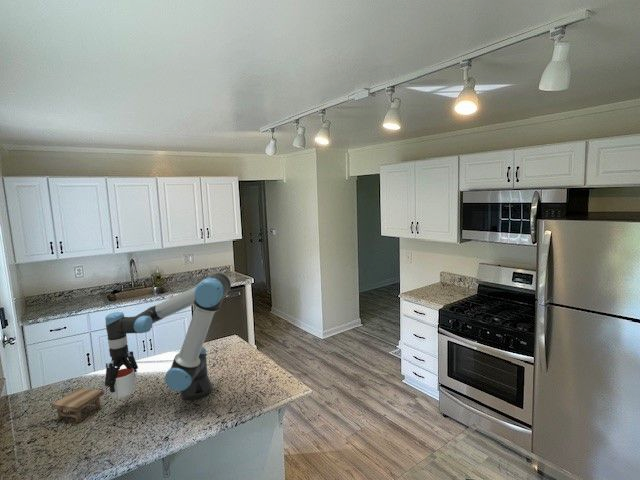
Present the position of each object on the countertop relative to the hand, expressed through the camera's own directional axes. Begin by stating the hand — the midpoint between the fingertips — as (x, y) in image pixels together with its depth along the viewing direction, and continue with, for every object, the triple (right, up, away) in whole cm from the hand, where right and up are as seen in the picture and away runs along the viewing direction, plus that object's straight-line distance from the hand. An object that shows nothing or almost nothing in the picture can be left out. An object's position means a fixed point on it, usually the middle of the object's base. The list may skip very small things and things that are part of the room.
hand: (124, 391), depth 164 cm
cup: (0, -1, 0) cm, 1 cm away
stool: (-19, -9, -3) cm, 21 cm away
